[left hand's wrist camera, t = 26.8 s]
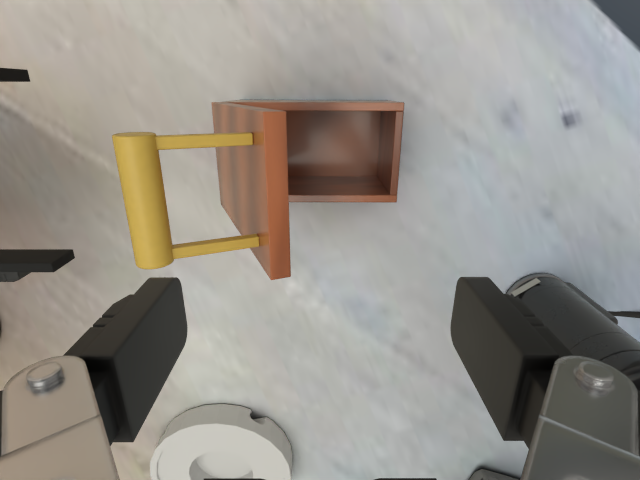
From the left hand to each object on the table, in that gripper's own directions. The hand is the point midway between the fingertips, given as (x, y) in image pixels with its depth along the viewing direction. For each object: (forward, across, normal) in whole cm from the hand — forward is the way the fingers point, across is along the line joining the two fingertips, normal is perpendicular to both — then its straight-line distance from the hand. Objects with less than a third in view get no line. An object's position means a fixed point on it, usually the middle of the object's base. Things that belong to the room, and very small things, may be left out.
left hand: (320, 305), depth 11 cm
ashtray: (+39, -16, -53) cm, 68 cm away
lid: (+20, -5, 0) cm, 21 cm away
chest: (+39, -1, 0) cm, 39 cm away
